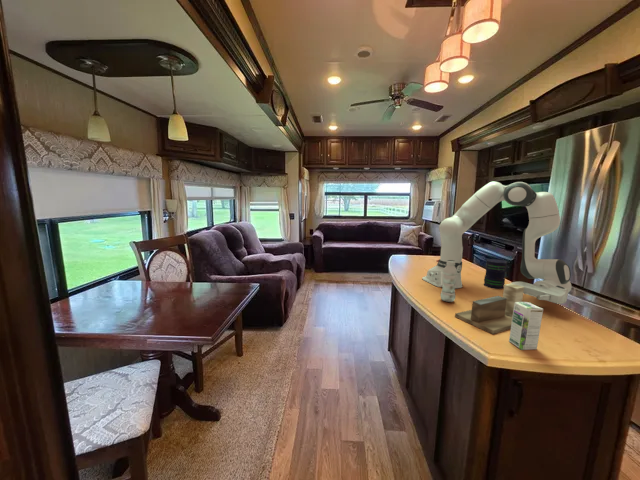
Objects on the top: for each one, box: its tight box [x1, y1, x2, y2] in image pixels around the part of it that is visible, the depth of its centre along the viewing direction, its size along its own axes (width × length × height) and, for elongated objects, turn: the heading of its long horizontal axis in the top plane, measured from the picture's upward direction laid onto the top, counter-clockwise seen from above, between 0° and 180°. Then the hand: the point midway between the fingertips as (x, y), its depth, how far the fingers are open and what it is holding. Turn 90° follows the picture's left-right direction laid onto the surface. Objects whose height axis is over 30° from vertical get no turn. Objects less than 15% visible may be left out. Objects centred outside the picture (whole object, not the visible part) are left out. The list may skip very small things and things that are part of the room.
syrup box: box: [508, 301, 544, 351], centre depth 91 cm, size 6×6×14 cm
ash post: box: [502, 282, 524, 318], centre depth 116 cm, size 5×5×13 cm
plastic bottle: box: [440, 260, 458, 303], centre depth 130 cm, size 6×7×20 cm
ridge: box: [454, 295, 512, 335], centre depth 110 cm, size 16×18×9 cm
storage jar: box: [483, 258, 508, 290], centre depth 154 cm, size 10×10×15 cm
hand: (526, 294), depth 120 cm, fingers open, 8 cm apart
